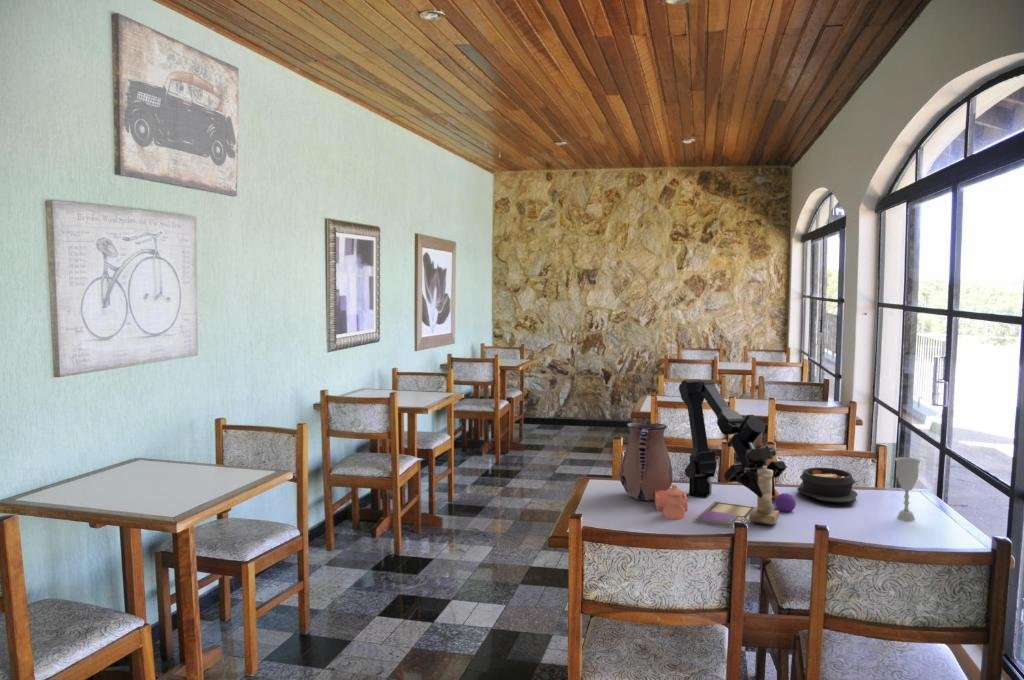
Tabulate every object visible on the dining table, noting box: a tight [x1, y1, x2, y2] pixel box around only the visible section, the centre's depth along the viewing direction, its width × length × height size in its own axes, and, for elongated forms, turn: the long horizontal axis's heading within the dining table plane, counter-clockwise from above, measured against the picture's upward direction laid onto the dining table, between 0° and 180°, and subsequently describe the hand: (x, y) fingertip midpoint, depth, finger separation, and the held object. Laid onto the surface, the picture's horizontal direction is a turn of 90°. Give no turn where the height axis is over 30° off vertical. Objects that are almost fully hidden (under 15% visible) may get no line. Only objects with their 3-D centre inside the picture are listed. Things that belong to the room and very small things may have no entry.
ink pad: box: [695, 509, 738, 528], centre depth 220 cm, size 10×10×1 cm
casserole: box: [796, 467, 858, 503], centre depth 245 cm, size 25×19×8 cm
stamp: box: [748, 469, 780, 526], centre depth 216 cm, size 7×7×15 cm
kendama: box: [772, 488, 797, 513], centre depth 236 cm, size 6×6×20 cm
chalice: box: [894, 456, 921, 522], centre depth 221 cm, size 7×7×18 cm
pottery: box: [654, 484, 688, 520], centre depth 230 cm, size 18×10×10 cm, turn 173°
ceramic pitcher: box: [619, 421, 673, 501], centre depth 244 cm, size 18×21×25 cm
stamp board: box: [692, 501, 755, 529], centre depth 225 cm, size 14×25×1 cm, turn 149°
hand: (767, 496), depth 214 cm, fingers closed on stamp, 4 cm apart
